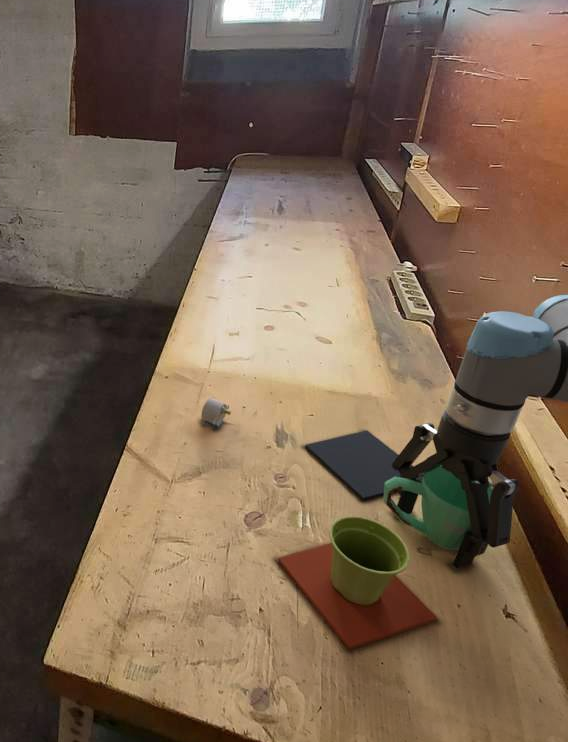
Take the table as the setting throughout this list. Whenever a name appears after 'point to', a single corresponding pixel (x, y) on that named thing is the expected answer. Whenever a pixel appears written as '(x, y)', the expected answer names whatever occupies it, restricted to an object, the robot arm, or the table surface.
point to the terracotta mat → (349, 618)
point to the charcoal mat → (358, 462)
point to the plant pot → (365, 558)
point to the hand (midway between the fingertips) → (430, 537)
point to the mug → (435, 506)
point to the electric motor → (214, 412)
